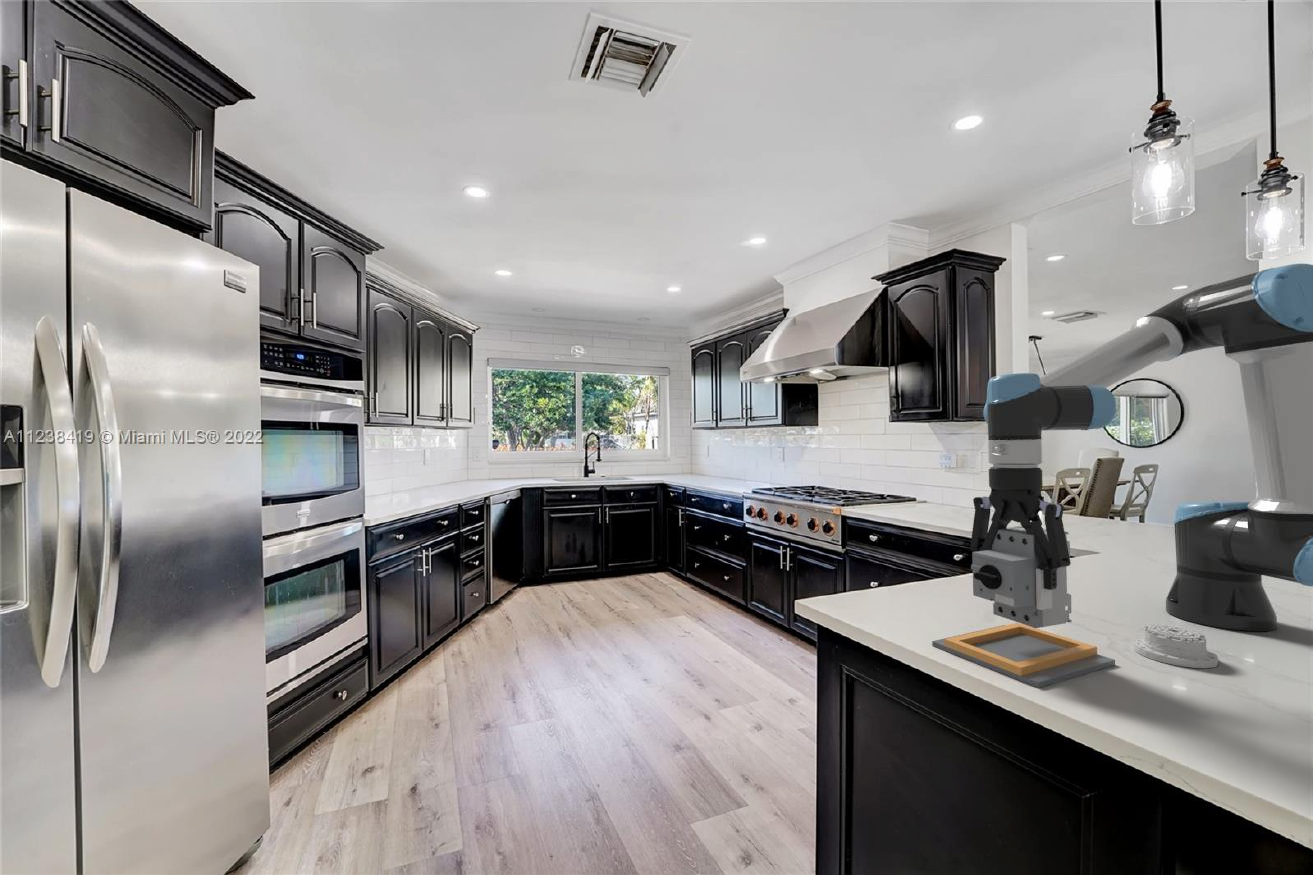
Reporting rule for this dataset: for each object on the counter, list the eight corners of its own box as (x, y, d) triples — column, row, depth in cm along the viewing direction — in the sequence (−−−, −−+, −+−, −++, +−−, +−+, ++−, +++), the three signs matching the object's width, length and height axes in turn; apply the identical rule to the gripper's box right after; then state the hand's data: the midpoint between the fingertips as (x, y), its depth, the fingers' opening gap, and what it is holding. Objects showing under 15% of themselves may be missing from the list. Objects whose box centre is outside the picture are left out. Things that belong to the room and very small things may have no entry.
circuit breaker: (966, 618, 92) (964, 530, 92) (1028, 609, 96) (1026, 525, 96) (1006, 633, 85) (1004, 538, 85) (1071, 622, 89) (1069, 531, 89)
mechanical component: (1160, 668, 85) (1236, 672, 83) (1160, 640, 85) (1235, 643, 83) (1120, 644, 95) (1187, 647, 93) (1119, 619, 95) (1186, 622, 93)
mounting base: (1004, 629, 103) (1004, 618, 103) (1115, 664, 86) (1114, 652, 86) (932, 645, 95) (932, 634, 95) (1038, 688, 79) (1038, 674, 79)
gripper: (944, 464, 99) (947, 589, 99) (1067, 469, 80) (1071, 623, 80) (973, 463, 102) (975, 584, 102) (1098, 467, 83) (1101, 616, 83)
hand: (1017, 601), depth 91 cm, fingers closed on circuit breaker, 8 cm apart
